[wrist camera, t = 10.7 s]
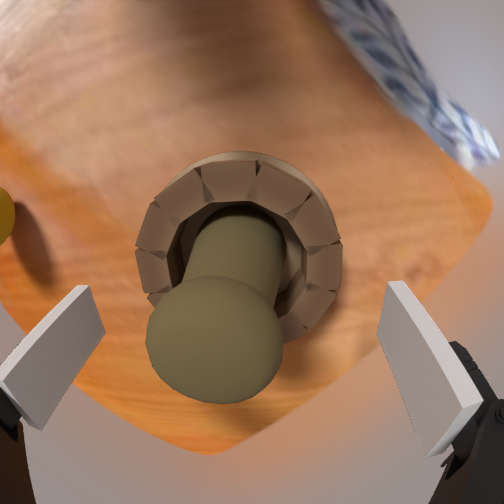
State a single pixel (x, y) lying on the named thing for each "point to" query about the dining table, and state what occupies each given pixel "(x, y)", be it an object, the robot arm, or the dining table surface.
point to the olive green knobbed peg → (223, 311)
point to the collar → (258, 196)
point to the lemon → (6, 215)
